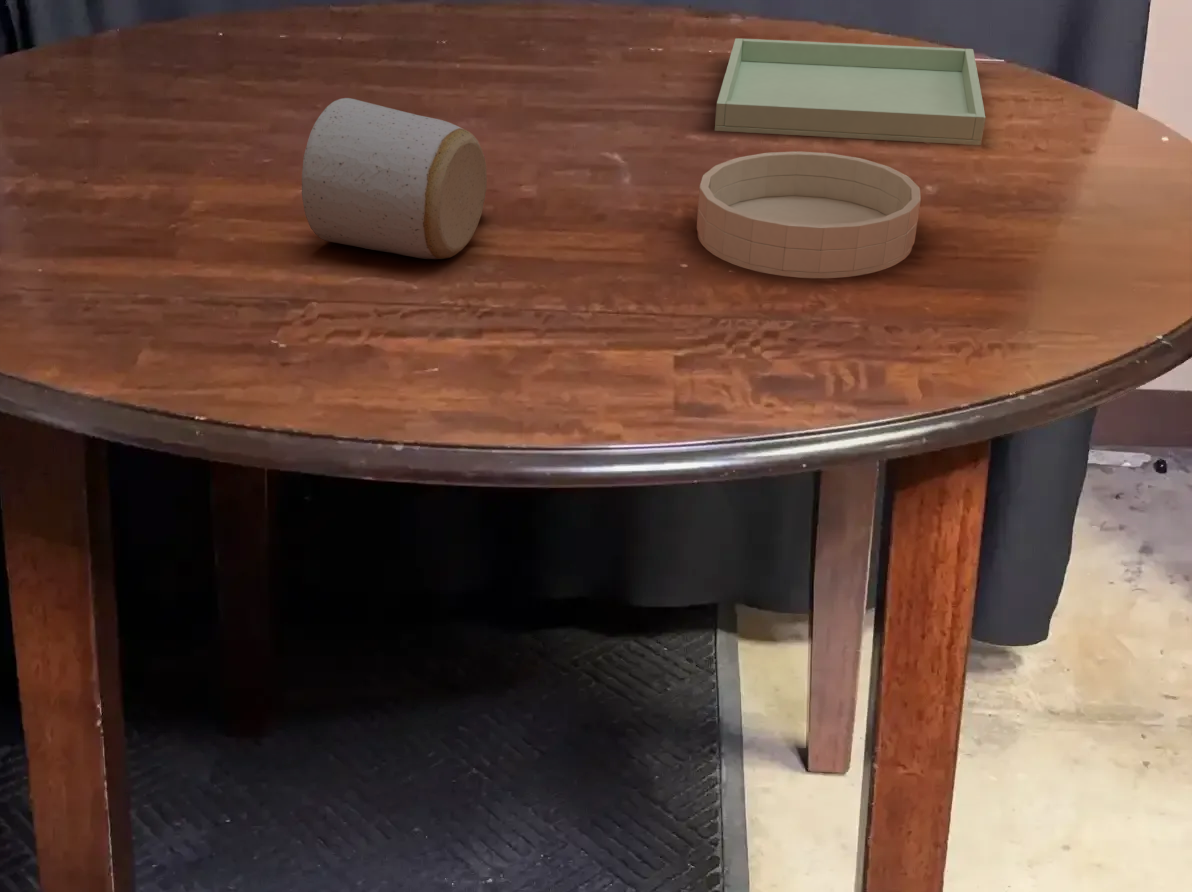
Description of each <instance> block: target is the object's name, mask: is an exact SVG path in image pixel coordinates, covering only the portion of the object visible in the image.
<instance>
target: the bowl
mask: <svg viewBox="0 0 1192 892" xmlns="http://www.w3.org/2000/svg"><path fill="white" fill-rule="evenodd" d="M921 203H922V197H921V187H920V186H919V185H918V184H917V183H916V182H915V181H913V179H912V178H911V177H910V176H909V175H906V174H905V173H903V172H901V171H899V170H896V169H895V168H893V167H891V166H888V165H886V164H882V163H879V162H875V161H871V160H868V159H866V158H862V157H857V156H856V157H855V156H850V155H843V154H837V153H832V152H831V153H830V152H815V151H801V150H800V151H796V150H795V151H778V152H777V151H775V152H762V153H757V154H750V155H745V156H739V157H735V158H733V159H729V160H727V161H724V162H721V163H718V164H715V165H714V166H712V167H711V168H710V169H709V170H708V171H706V172H705V173H704V174H703V175H702V176H701V180H700V184H699V188H698V202H697V216H696V217H697V218H696V219H697V220H696V231H697V233H696V234H697V238H698V241H699V243H700V244H701V246H703V248H705V250H707V252H709V253H711V254H712V255H713V256H715V257H717V258H719V259H720V260H722V261H725V262H727V263H730V264H732V265H735V266H737V267H740V268H743V269H747V270H751V271H755V272H758V273H763V274H768V275H774V276H781V277H790V278H798V279H799V278H801V279H838V278H849V277H856V276H857V277H858V276H864V275H869V274H873V273H876V272H880V271H884V270H886V269H889V268H891V267H894V266H896V265H898V264H899V263H901V262H903V260H905V259H906V258H907V257H908V256H910V254H911V252H912V250H913V248H914V244H915V241H916V234H917V228H918V222H919V215H920V208H921Z"/></svg>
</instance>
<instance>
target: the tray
mask: <svg viewBox="0 0 1192 892" xmlns="http://www.w3.org/2000/svg"><path fill="white" fill-rule="evenodd" d="M731 48H732V49H731V52H730V55H729V59H728V64H727V66H726V70H725V73H724V76H723V80H722V83H721V86H720V90H719V94H718V97H717V100H716V105H715V106H716V107H715V119H714V125H715V126H714V131H715V132H729V133H730V132H733V133H751V134H770V135H787V136H805V137H806V136H808V137H820V138H821V137H824V138H841V139H859V140H860V139H861V140H879V141H895V142H914V143H915V142H916V143H931V144H933V143H934V144H948V145H949V144H950V145H951V144H952V145H968V146H981V145H982V140H983V135H984V131H985V130H984V129H985V123H986V118H987V117H986V111H985V107H984V100H983V96H982V95H983V94H982V89H981V85H980V79H979V74H978V73H979V72H978V69H977V62H976V56H975V51H974V49H973V48H962V47H961V48H957V47H937V46H914V45H892V44H872V43H870V44H869V43H850V42H849V43H847V42H830V41H829V42H828V41H827V42H826V41H825V42H824V41H805V40H803V41H802V40H785V39H783V40H782V39H781V40H780V39H763V38H762V39H759V38H737V37H735V39H734V42H733V45H732V47H731Z"/></svg>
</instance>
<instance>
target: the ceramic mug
mask: <svg viewBox="0 0 1192 892" xmlns="http://www.w3.org/2000/svg"><path fill="white" fill-rule="evenodd" d="M302 159H303V160H302V169H301V198H302V204H303V210H304V214H305V218H306V220H307V223H308V225H309V227H310V229H311V230H312V232H313V233H314V234H315V235H316V236H317V237H318V238H319V239H321V240H323V241H324V242H329V243H333V244H340V245H345V246H350V247H355V248H356V247H357V248H361V249H365V250H372V251H377V252H384V253H389V254H396V255H401V256H405V257H410V258H417V259H422V260H446V259H450V258H452V257H454V256H456V255H457V254H459V253H460V252H461V251H462V250H463V249H464V248H465V247H466V246H468V244H469V243H470V241H471V239H472V238H473V237H474V235H475V232H476V231H477V228H478V225H479V224H480V220H481V217H482V214H483V210H484V205H485V199H486V193H487V183H488V182H487V179H488V178H487V177H488V174H487V162H486V157H485V154H484V151H483V149H482V147H481V144H480V142H479V140H478V139H477V138H476V137H475V135H474V134H473V133H472V132H470V131H469V130H467V129H465V128H462V127H461V126H458V125H456V124H454V123H452V122H449V121H446V120H442V119H439V118H433V117H429V116H425V115H420V114H415V113H411V112H408V111H407V112H406V111H402V110H400V109H395V108H391V107H387V106H382V105H379V104H375V103H370V102H367V101H364V100H359V99H356V98H350V97H344V98H339V99H336V100H334V101H332V102H331V103H330V104H329V105H327V106H325V108H324V109H323V111H322V112H321V114H320V115H319V116H318V117H317V119H316V121H314V124H313V126H312V128H311V131H310V133H309V136H308V139H307V143H306V145H305V150H304V153H303V158H302Z"/></svg>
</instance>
